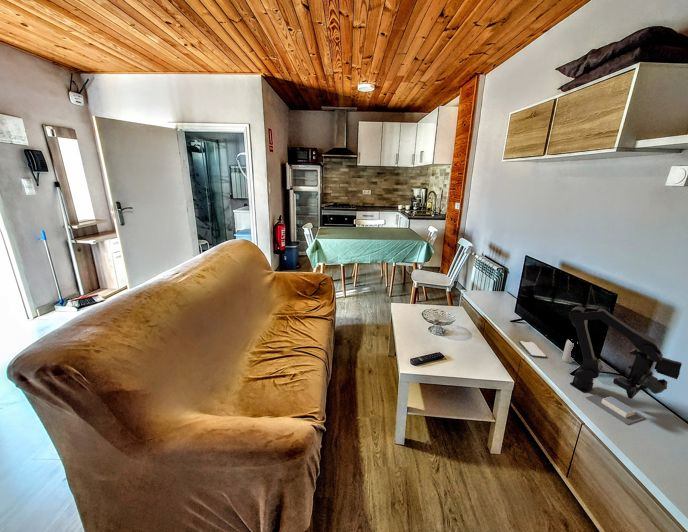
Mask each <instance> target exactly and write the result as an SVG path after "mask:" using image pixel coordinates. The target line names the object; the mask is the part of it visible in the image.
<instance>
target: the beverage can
mask: <svg viewBox="0 0 688 532" xmlns="http://www.w3.org/2000/svg"><path fill="white" fill-rule="evenodd" d="M573 347H574V343H572V342H571V341H570V340H569V338H568V339H566V342H565V345H564V349H563V352H562V353H563V354H562V357H561V360H562V361H563V362H564V363H567V364H572V363H573V361H574V358H572V357H571V351H572V349H573Z"/></svg>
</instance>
